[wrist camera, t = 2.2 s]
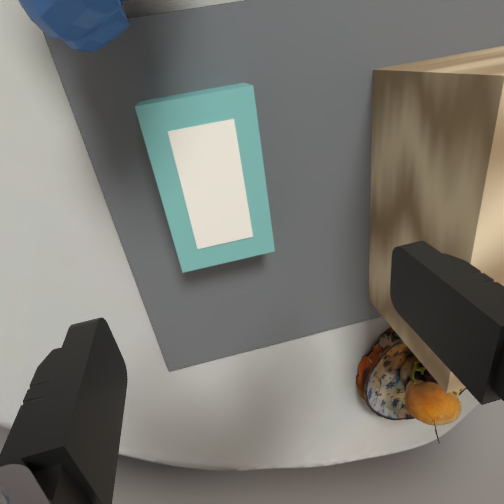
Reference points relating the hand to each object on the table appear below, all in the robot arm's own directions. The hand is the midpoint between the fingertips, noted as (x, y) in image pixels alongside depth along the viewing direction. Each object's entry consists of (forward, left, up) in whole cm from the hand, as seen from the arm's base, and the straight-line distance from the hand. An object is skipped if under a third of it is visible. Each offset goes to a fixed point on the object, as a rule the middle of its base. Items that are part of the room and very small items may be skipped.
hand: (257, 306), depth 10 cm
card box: (0, 0, -13) cm, 13 cm away
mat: (+3, +7, -13) cm, 15 cm away
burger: (+21, +15, -13) cm, 29 cm away
